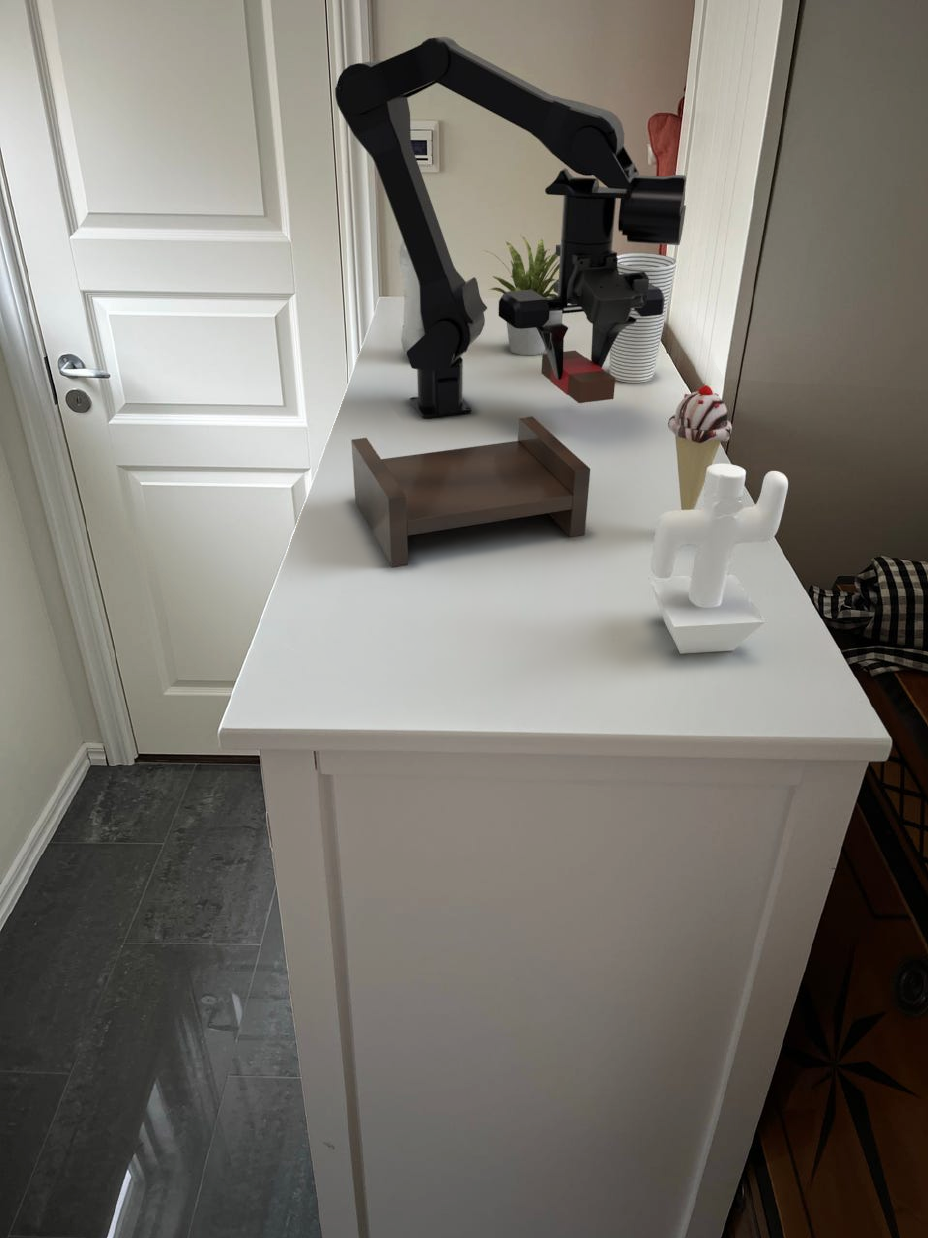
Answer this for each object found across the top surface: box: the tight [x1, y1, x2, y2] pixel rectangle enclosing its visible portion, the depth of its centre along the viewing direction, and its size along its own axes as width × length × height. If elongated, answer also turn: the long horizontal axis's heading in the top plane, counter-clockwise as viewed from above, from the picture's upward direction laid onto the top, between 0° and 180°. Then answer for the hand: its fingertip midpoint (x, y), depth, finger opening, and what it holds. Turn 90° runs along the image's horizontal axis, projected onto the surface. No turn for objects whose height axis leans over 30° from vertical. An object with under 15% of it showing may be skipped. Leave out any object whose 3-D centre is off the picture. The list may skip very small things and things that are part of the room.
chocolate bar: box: [540, 350, 616, 404], centre depth 112 cm, size 11×5×3 cm, turn 19°
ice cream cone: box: [667, 384, 733, 510], centre depth 87 cm, size 6×6×15 cm
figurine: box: [648, 463, 789, 655], centre depth 72 cm, size 7×9×15 cm
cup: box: [609, 252, 678, 384], centre depth 125 cm, size 8×8×16 cm
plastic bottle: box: [398, 240, 425, 356], centre depth 130 cm, size 6×7×20 cm
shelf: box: [350, 416, 591, 568], centre depth 92 cm, size 14×20×7 cm
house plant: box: [483, 234, 560, 356], centre depth 135 cm, size 14×14×16 cm
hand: (576, 376), depth 112 cm, fingers closed on chocolate bar, 4 cm apart
